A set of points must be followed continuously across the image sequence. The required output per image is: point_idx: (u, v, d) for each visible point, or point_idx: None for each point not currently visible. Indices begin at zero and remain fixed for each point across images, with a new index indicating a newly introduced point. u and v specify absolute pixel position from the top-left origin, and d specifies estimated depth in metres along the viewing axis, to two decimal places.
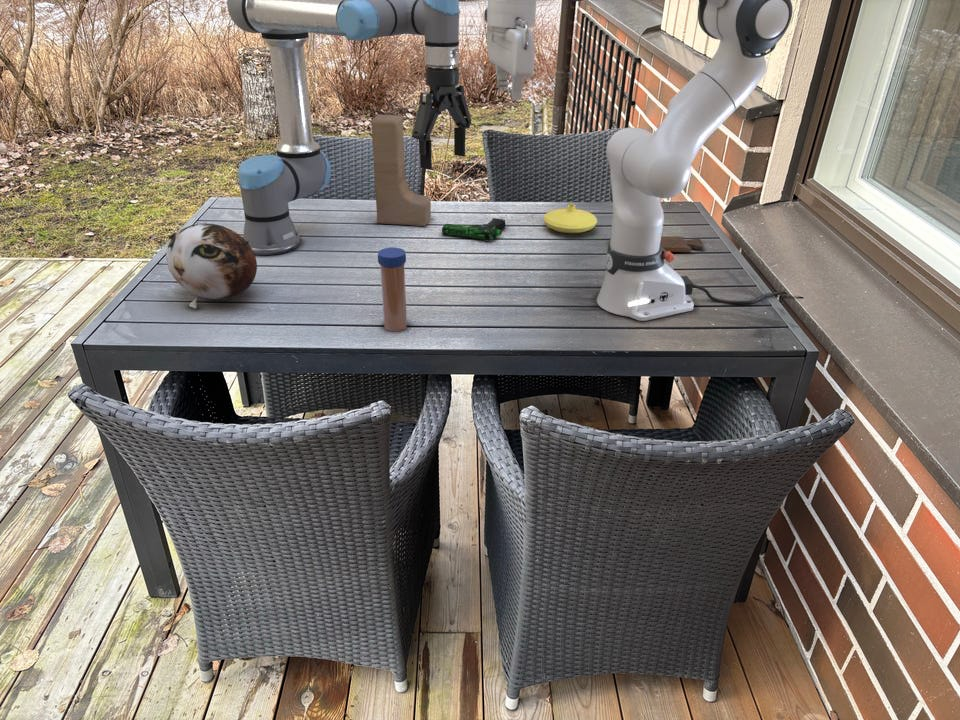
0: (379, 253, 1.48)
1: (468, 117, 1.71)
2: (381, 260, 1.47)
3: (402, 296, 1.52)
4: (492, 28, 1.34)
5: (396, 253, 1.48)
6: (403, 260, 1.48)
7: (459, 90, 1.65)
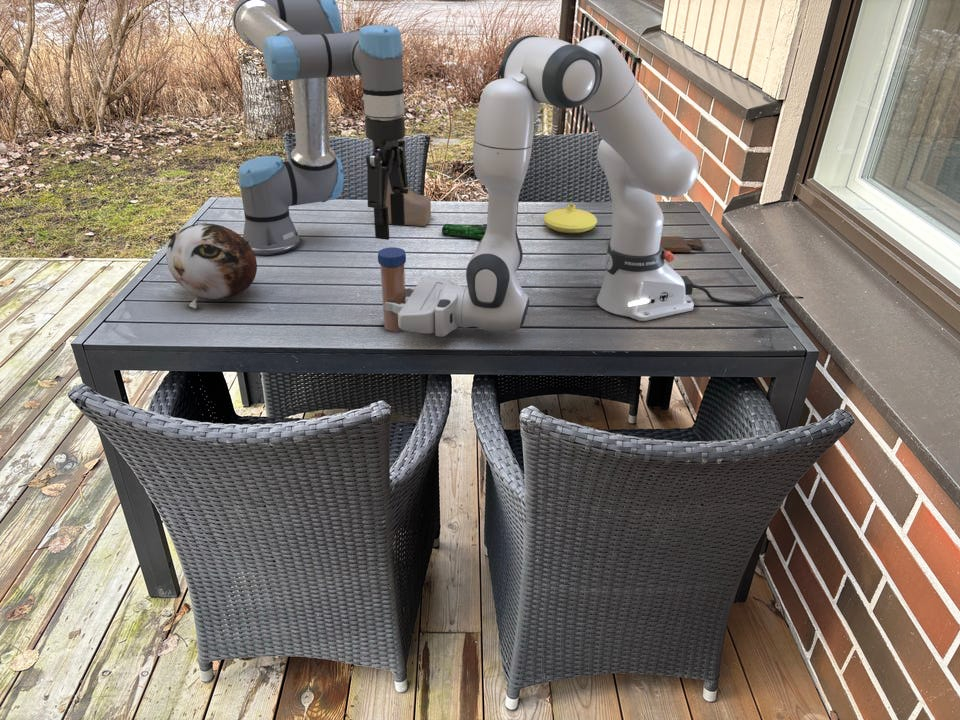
0: (379, 253, 1.48)
1: None
2: (381, 260, 1.47)
3: (402, 295, 1.52)
4: None
5: (396, 253, 1.48)
6: (403, 260, 1.48)
7: None
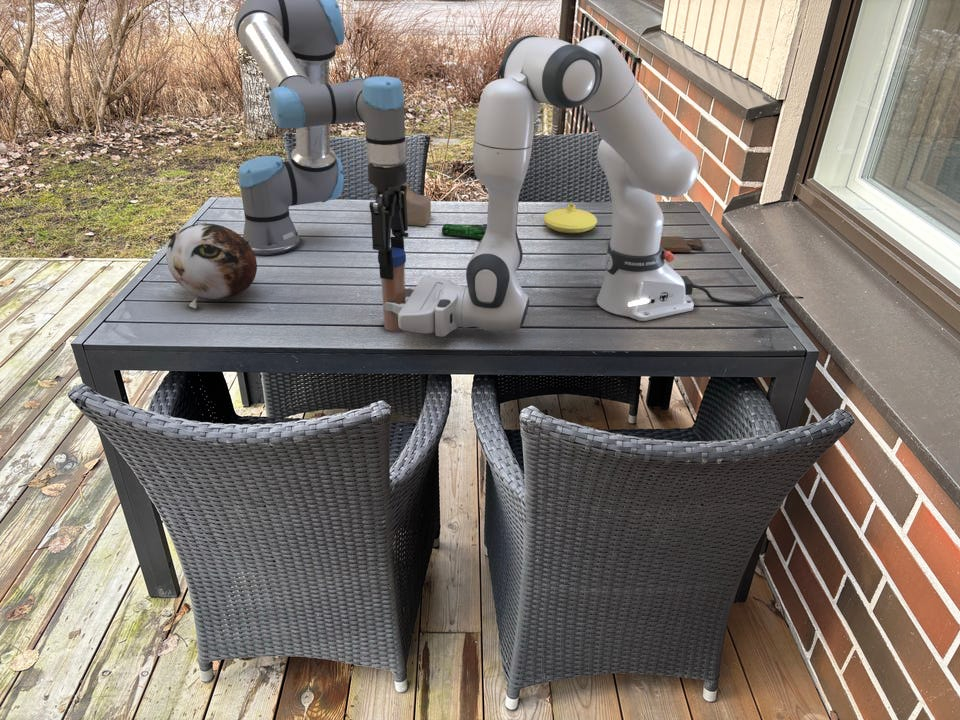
0: None
1: None
2: None
3: (402, 296, 1.52)
4: None
5: (396, 253, 1.48)
6: (403, 260, 1.48)
7: None
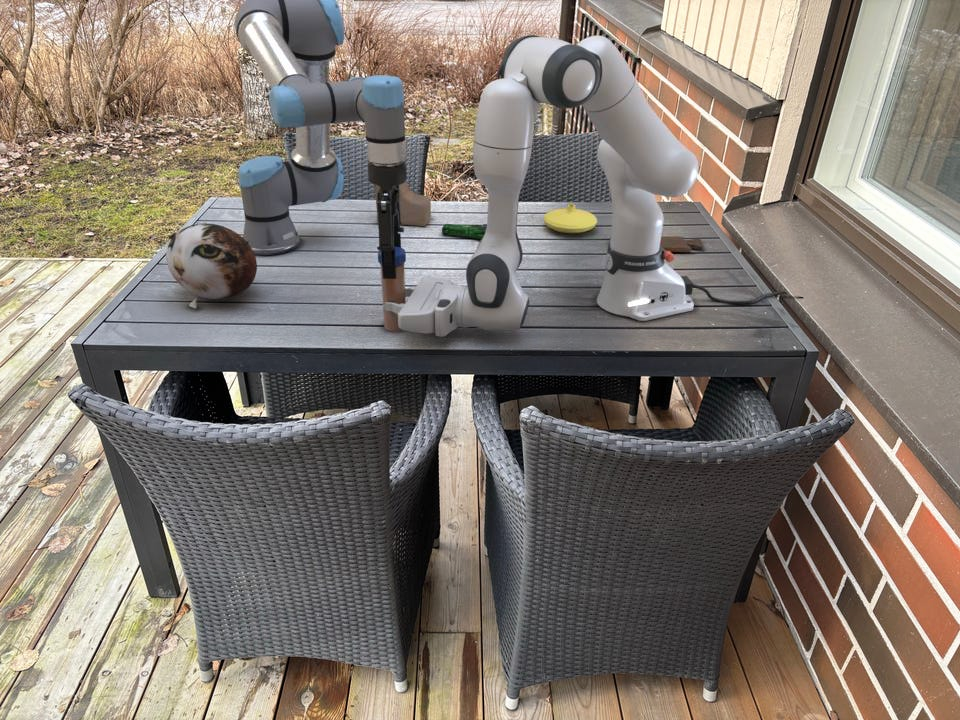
0: None
1: None
2: (398, 260, 1.47)
3: (402, 295, 1.52)
4: None
5: (395, 250, 1.49)
6: None
7: None
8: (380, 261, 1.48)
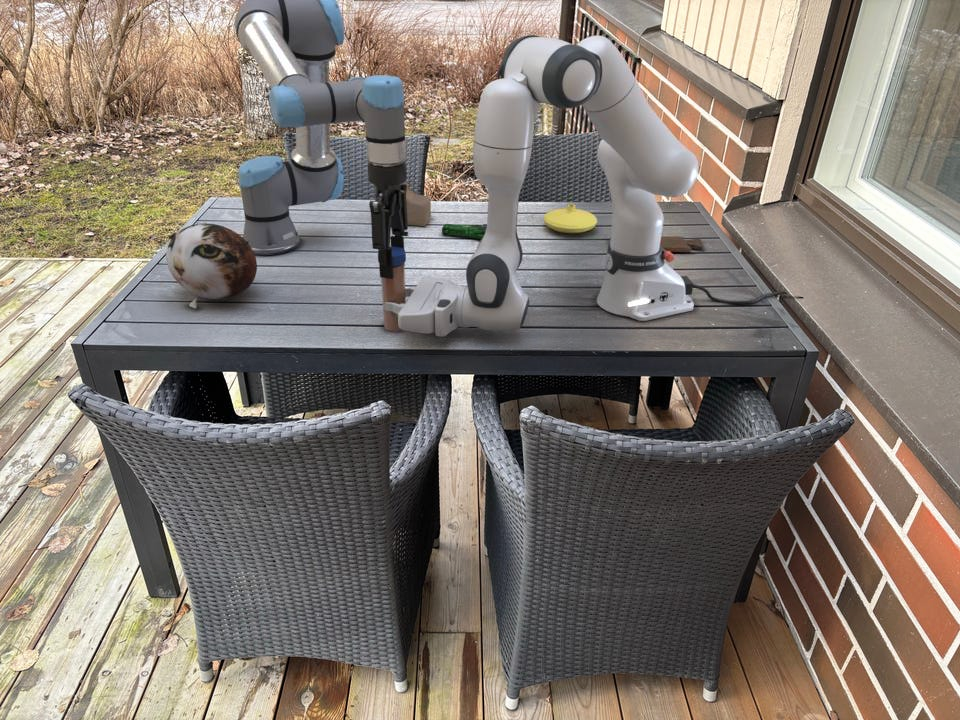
0: None
1: None
2: (398, 260, 1.47)
3: (402, 296, 1.52)
4: None
5: (395, 250, 1.49)
6: None
7: None
8: None
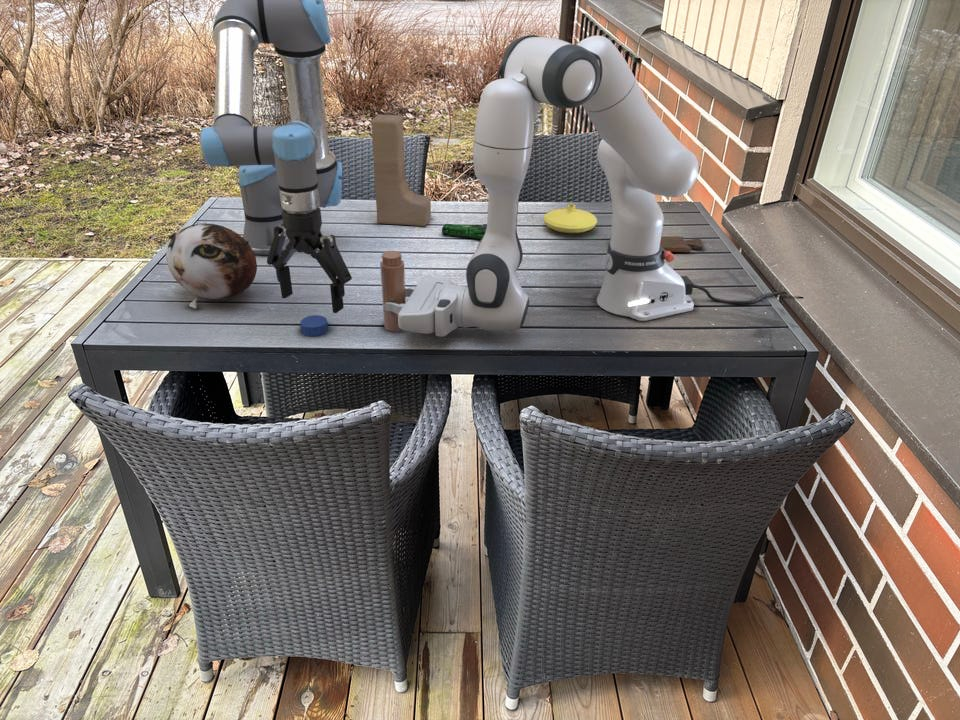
0: (325, 322, 1.54)
1: (339, 276, 1.44)
2: None
3: (402, 296, 1.52)
4: None
5: (311, 319, 1.55)
6: None
7: None
8: (318, 332, 1.53)
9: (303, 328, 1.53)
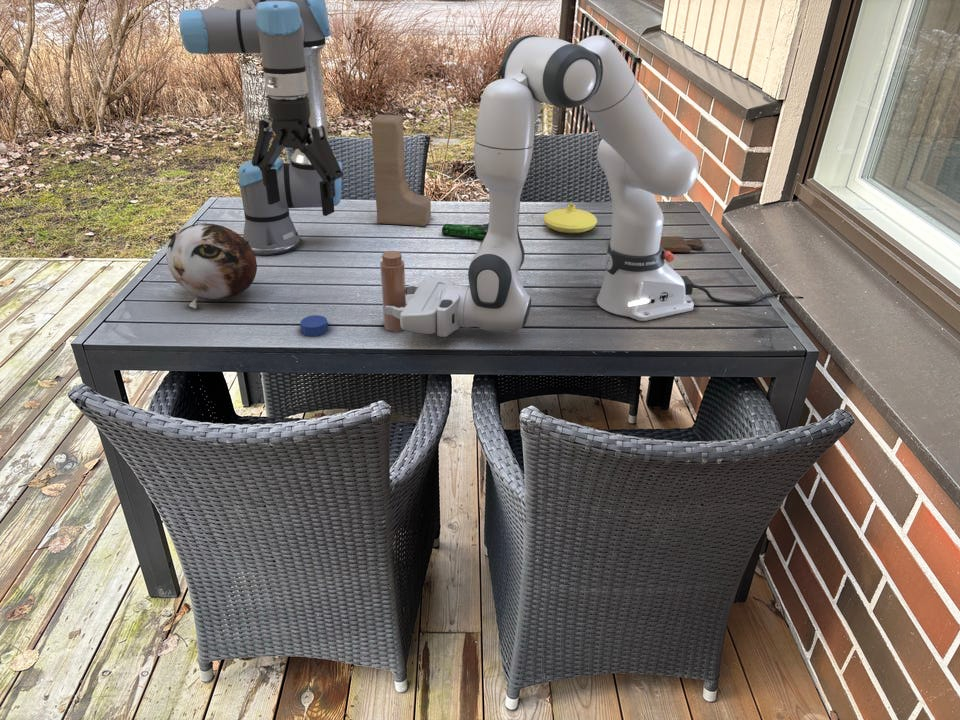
0: (325, 322, 1.54)
1: (329, 171, 1.33)
2: None
3: (402, 296, 1.52)
4: None
5: (311, 319, 1.55)
6: None
7: None
8: (318, 332, 1.53)
9: (303, 328, 1.53)
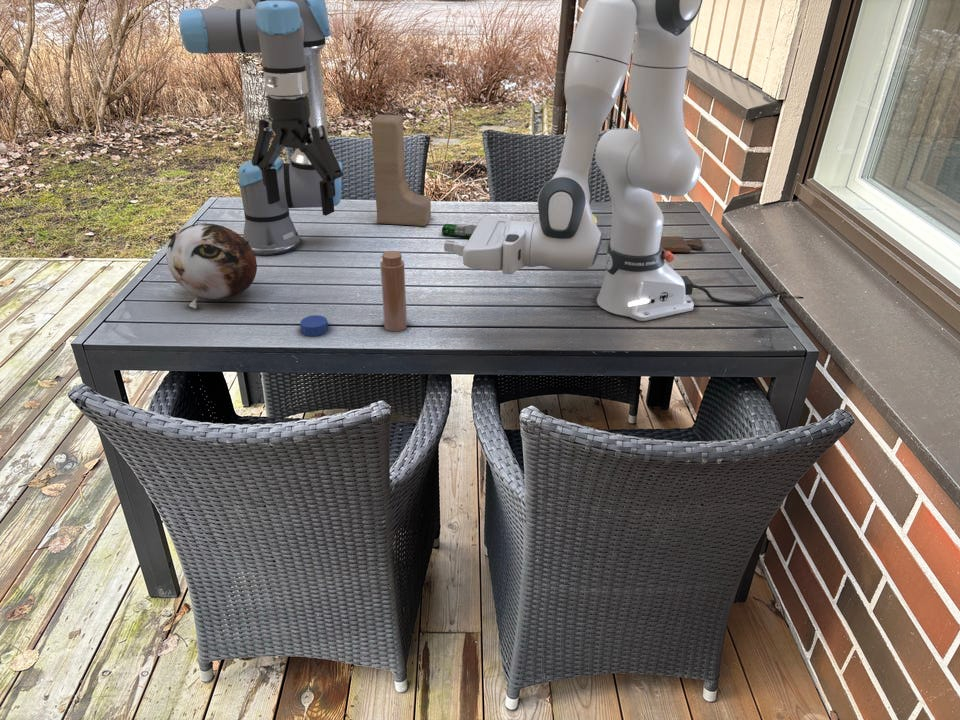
0: (325, 322, 1.54)
1: (329, 171, 1.33)
2: None
3: (402, 296, 1.52)
4: None
5: (311, 319, 1.55)
6: None
7: None
8: (318, 332, 1.53)
9: (303, 328, 1.53)
